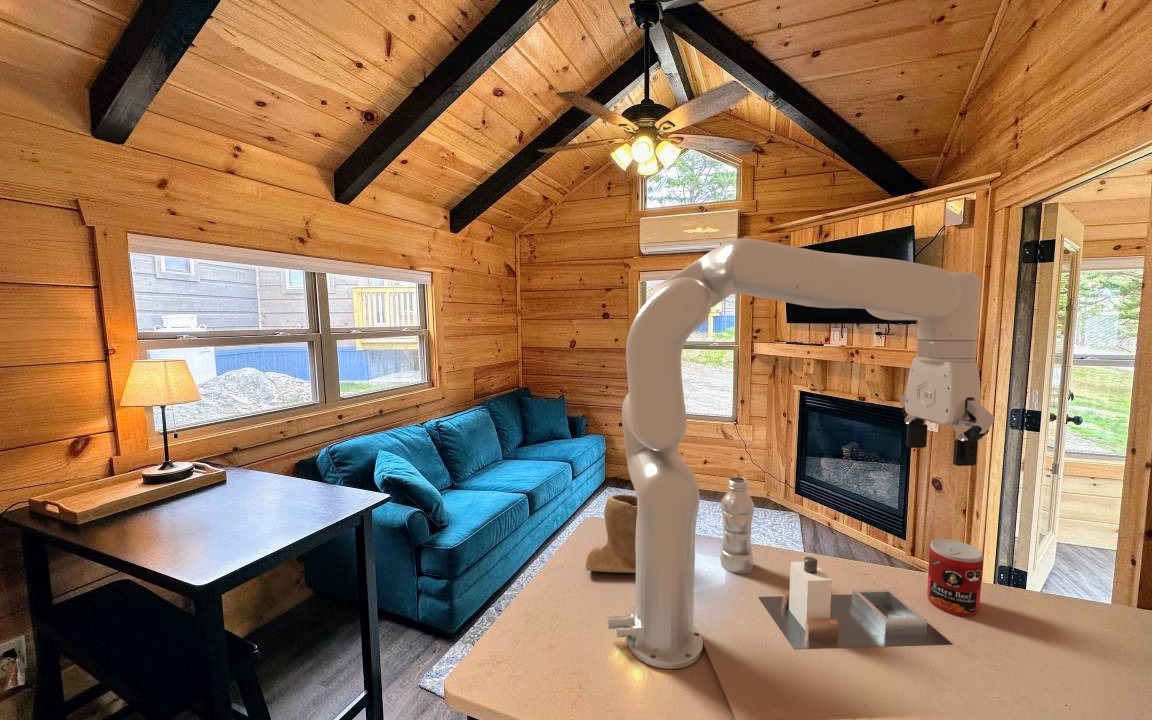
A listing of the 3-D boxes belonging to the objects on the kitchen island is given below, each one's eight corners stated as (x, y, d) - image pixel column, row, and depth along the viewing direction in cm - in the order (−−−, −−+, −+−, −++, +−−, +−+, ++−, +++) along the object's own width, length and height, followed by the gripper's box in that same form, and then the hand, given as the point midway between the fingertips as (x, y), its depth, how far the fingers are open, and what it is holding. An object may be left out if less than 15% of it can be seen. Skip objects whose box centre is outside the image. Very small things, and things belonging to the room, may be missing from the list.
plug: (805, 631, 80) (808, 569, 78) (788, 609, 86) (791, 551, 84) (829, 630, 80) (832, 568, 79) (810, 608, 86) (813, 550, 85)
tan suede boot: (653, 551, 109) (653, 488, 108) (659, 580, 97) (659, 510, 96) (587, 550, 110) (587, 487, 109) (585, 578, 98) (585, 509, 97)
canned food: (923, 605, 88) (927, 549, 87) (929, 587, 94) (933, 534, 93) (977, 623, 83) (982, 564, 82) (980, 603, 89) (984, 547, 88)
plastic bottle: (757, 580, 97) (760, 485, 95) (724, 580, 97) (727, 485, 95) (747, 563, 104) (749, 474, 102) (716, 563, 104) (717, 474, 102)
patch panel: (793, 656, 76) (794, 634, 75) (757, 602, 89) (758, 584, 89) (952, 651, 76) (954, 629, 76) (892, 599, 90) (893, 580, 90)
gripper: (885, 347, 84) (880, 442, 86) (970, 356, 67) (961, 474, 69) (926, 347, 84) (920, 441, 86) (1021, 355, 67) (1011, 472, 69)
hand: (938, 455), depth 77 cm, fingers open, 9 cm apart
